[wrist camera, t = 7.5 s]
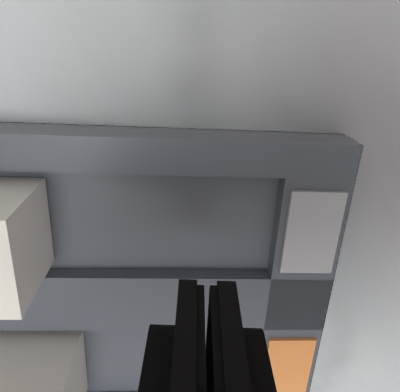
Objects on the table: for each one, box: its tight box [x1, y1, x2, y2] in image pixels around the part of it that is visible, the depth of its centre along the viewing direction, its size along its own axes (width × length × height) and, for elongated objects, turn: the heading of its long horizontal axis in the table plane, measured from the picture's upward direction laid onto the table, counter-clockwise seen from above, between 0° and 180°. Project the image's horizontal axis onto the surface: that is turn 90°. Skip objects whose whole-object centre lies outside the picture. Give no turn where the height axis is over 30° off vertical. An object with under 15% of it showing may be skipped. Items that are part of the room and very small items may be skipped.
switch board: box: [0, 122, 363, 392], centre depth 19 cm, size 20×16×2 cm
